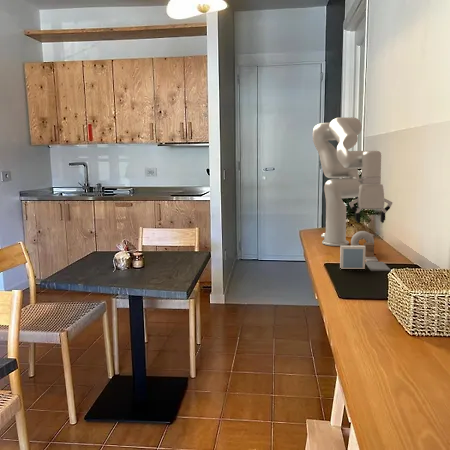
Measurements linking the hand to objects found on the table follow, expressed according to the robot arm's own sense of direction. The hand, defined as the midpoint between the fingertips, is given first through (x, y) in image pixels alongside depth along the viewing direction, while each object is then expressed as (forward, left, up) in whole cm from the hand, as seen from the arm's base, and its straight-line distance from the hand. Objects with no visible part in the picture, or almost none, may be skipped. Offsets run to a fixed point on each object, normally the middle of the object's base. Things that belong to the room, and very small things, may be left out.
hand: (370, 222), depth 188 cm
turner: (+2, -2, -15) cm, 15 cm away
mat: (+12, -9, -15) cm, 22 cm away
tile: (+8, -19, -15) cm, 26 cm away
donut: (-7, +4, -15) cm, 18 cm away
